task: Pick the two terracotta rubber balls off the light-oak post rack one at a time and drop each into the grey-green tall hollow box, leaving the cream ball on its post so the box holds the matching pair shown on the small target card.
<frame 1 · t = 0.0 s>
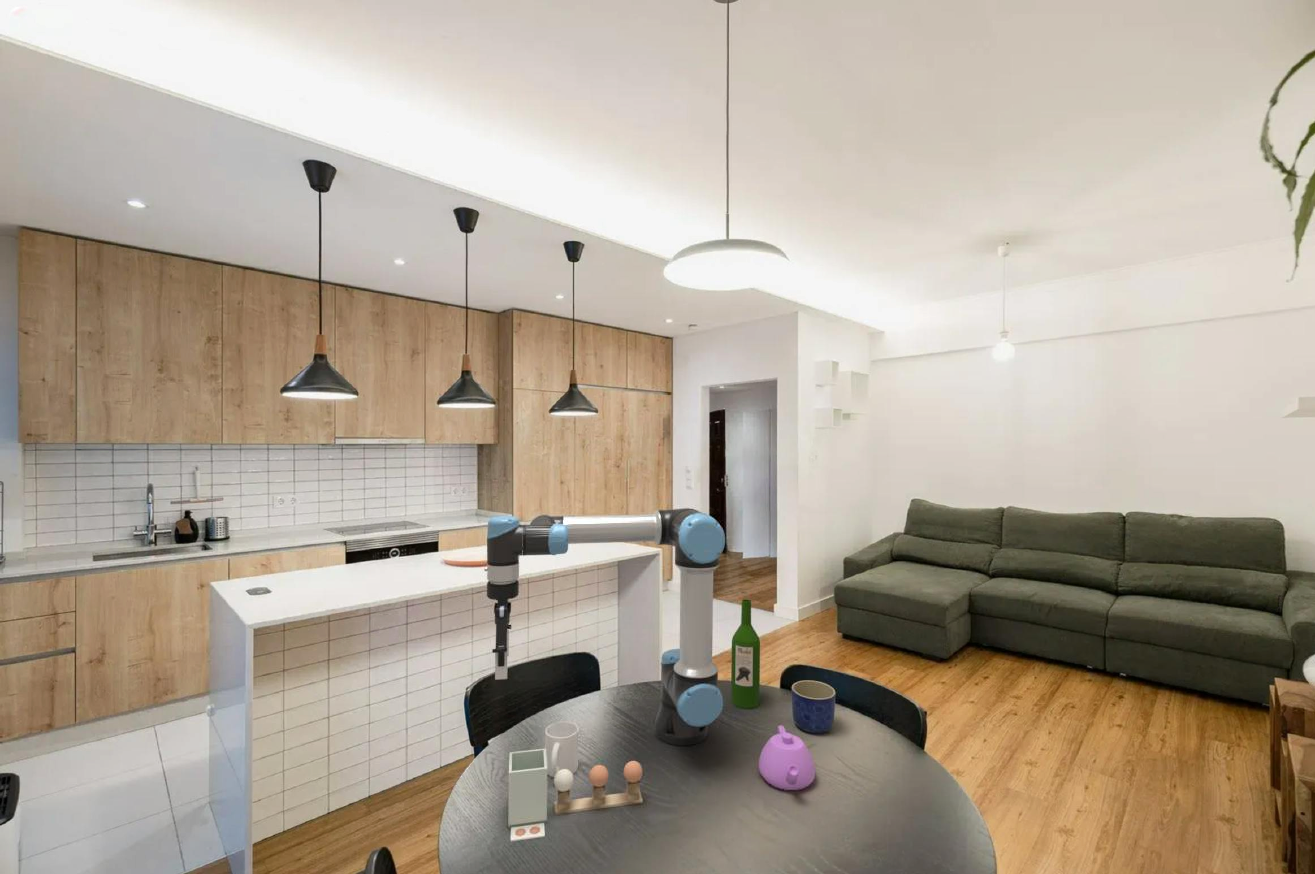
hand: (502, 667, 142), 28 cm above the table, fingers open, 13 cm apart
ball b: (598, 785, 134), point 4 cm above the table, touching rack
ball a: (632, 780, 136), point 4 cm above the table, touching rack
target card: (527, 832, 124), on the table
planter: (812, 726, 170), on the table
wine bottle: (745, 702, 185), on the table
mug: (559, 774, 146), on the table
teapot: (787, 779, 145), on the table
grey-green tall hollow box: (527, 813, 131), on the table
ball c: (563, 789, 132), point 4 cm above the table, touching rack
rack: (598, 803, 134), on the table
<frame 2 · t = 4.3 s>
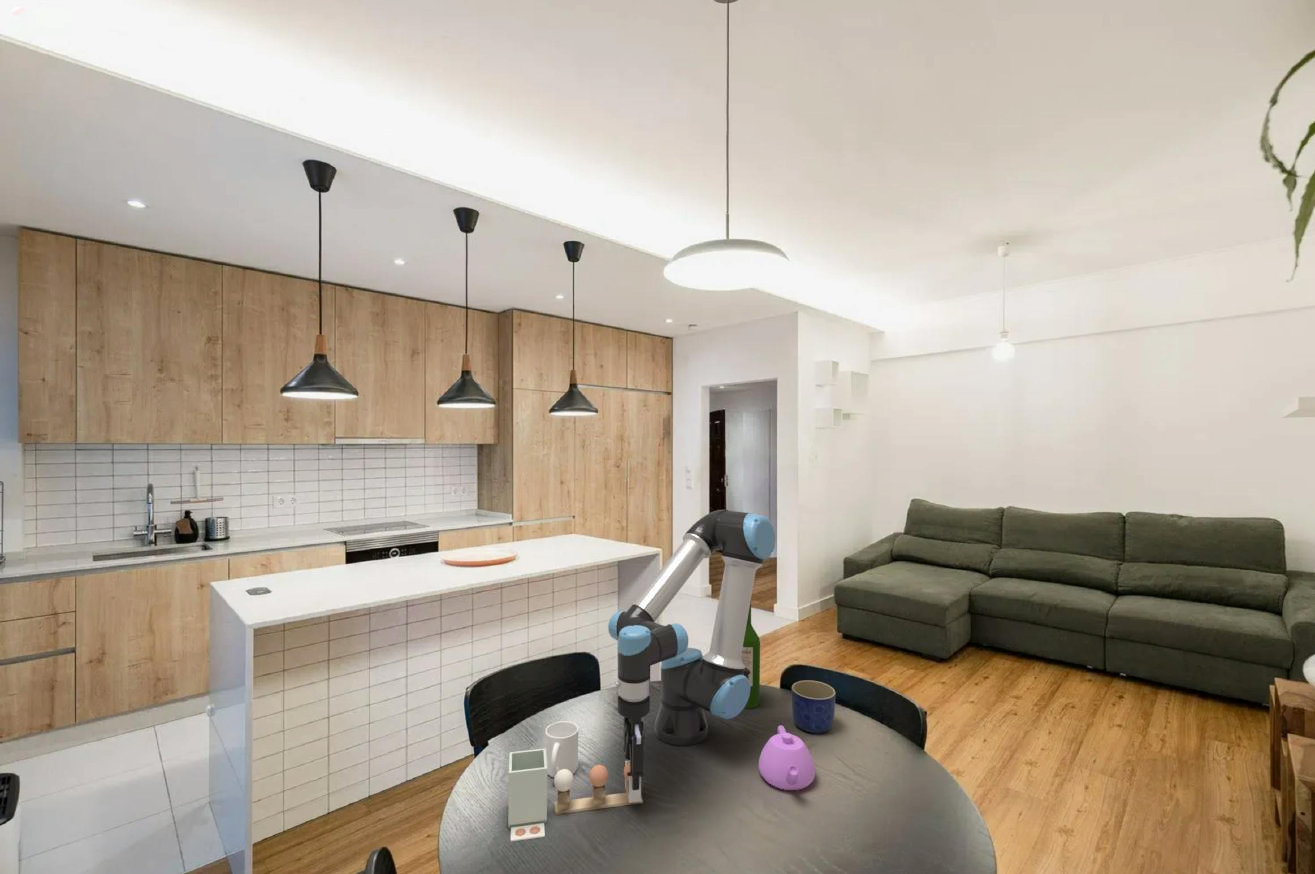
hand: (632, 794, 136), 1 cm above the table, fingers closed on ball a, 4 cm apart
ball a: (632, 780, 136), point 4 cm above the table, touching gripper, rack
everything else where it was.
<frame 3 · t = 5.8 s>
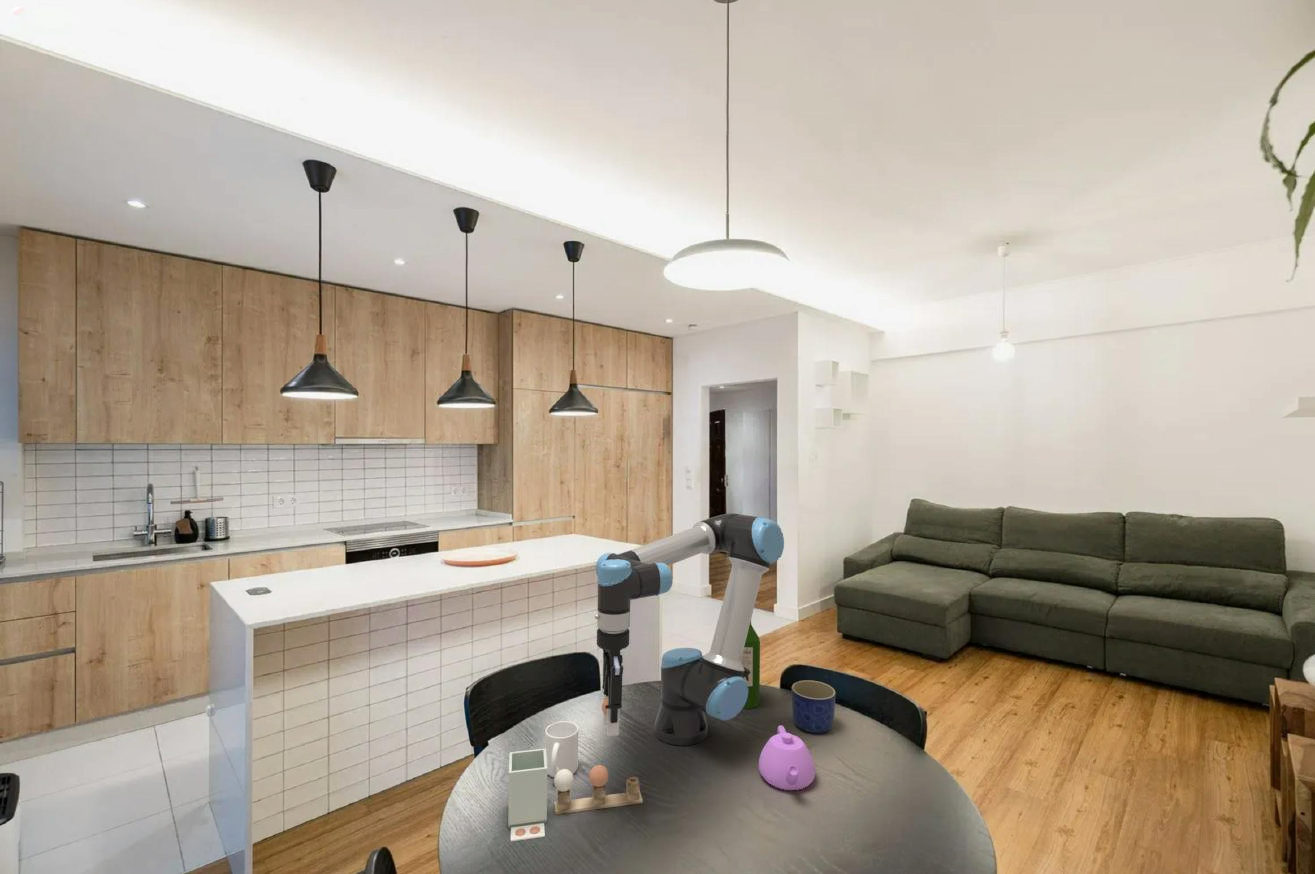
hand: (610, 729, 134), 17 cm above the table, fingers closed on ball a, 4 cm apart
ball a: (611, 715, 134), point 20 cm above the table, touching gripper
everything else where it was.
when the fingers open (14 cm above the table, at t = 7.3 s): ball a drops 16 cm, resting on grey-green tall hollow box.
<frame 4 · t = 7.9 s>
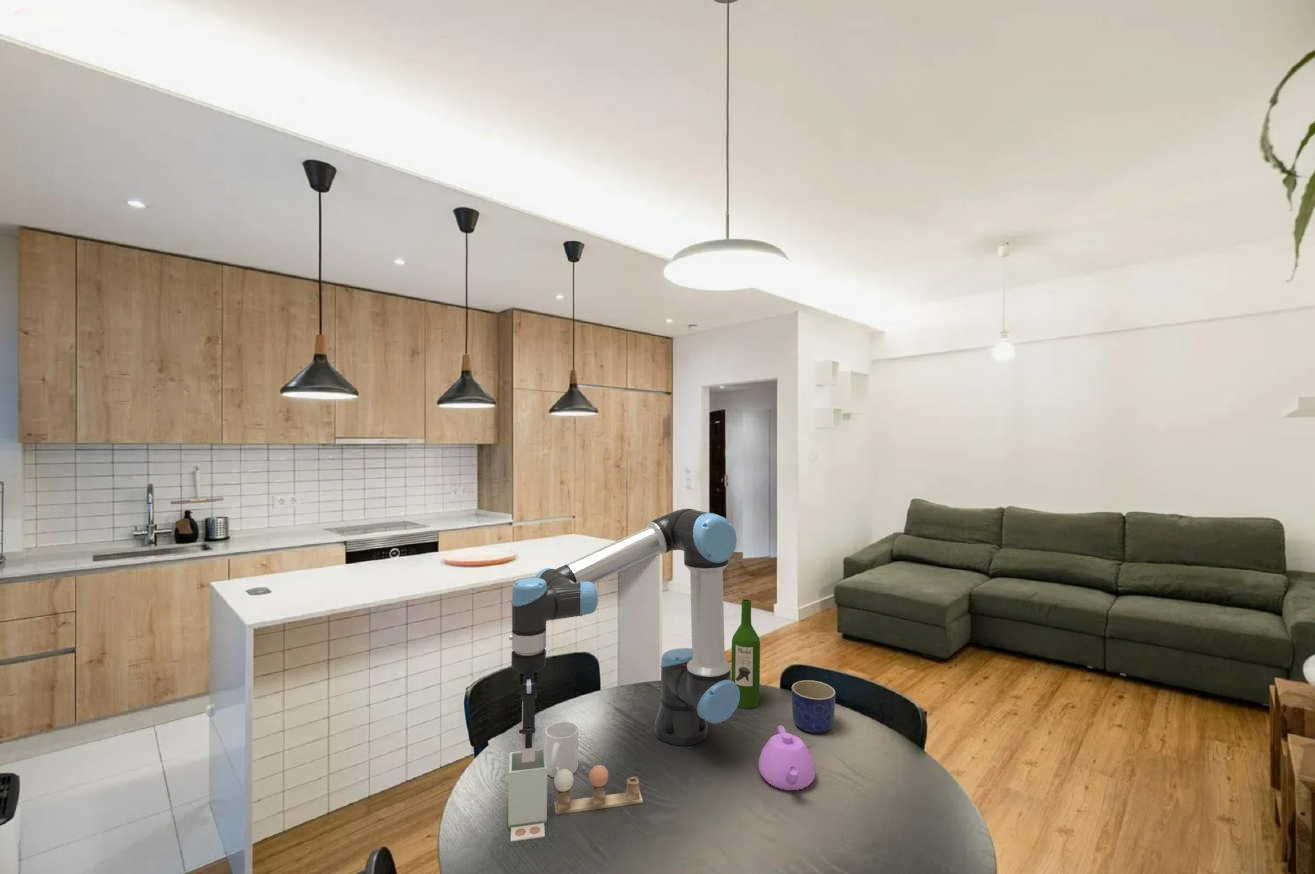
hand: (528, 744, 130), 16 cm above the table, fingers open, 13 cm apart
ball a: (527, 810, 131), point 1 cm above the table, touching grey-green tall hollow box
everything else where it was.
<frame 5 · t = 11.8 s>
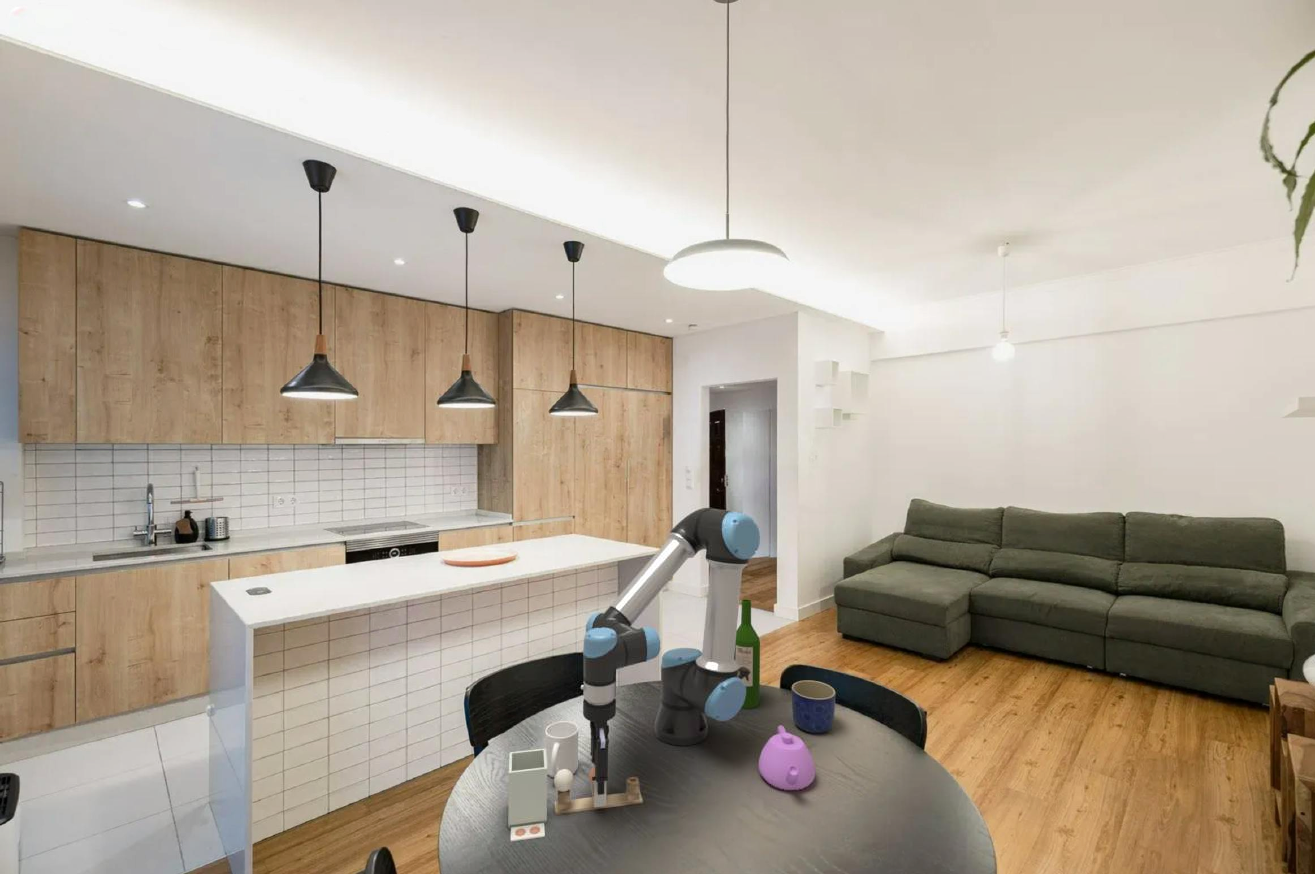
hand: (598, 798, 134), 1 cm above the table, fingers closed on ball b, 4 cm apart
ball b: (598, 785, 134), point 4 cm above the table, touching gripper, rack
everything else where it was.
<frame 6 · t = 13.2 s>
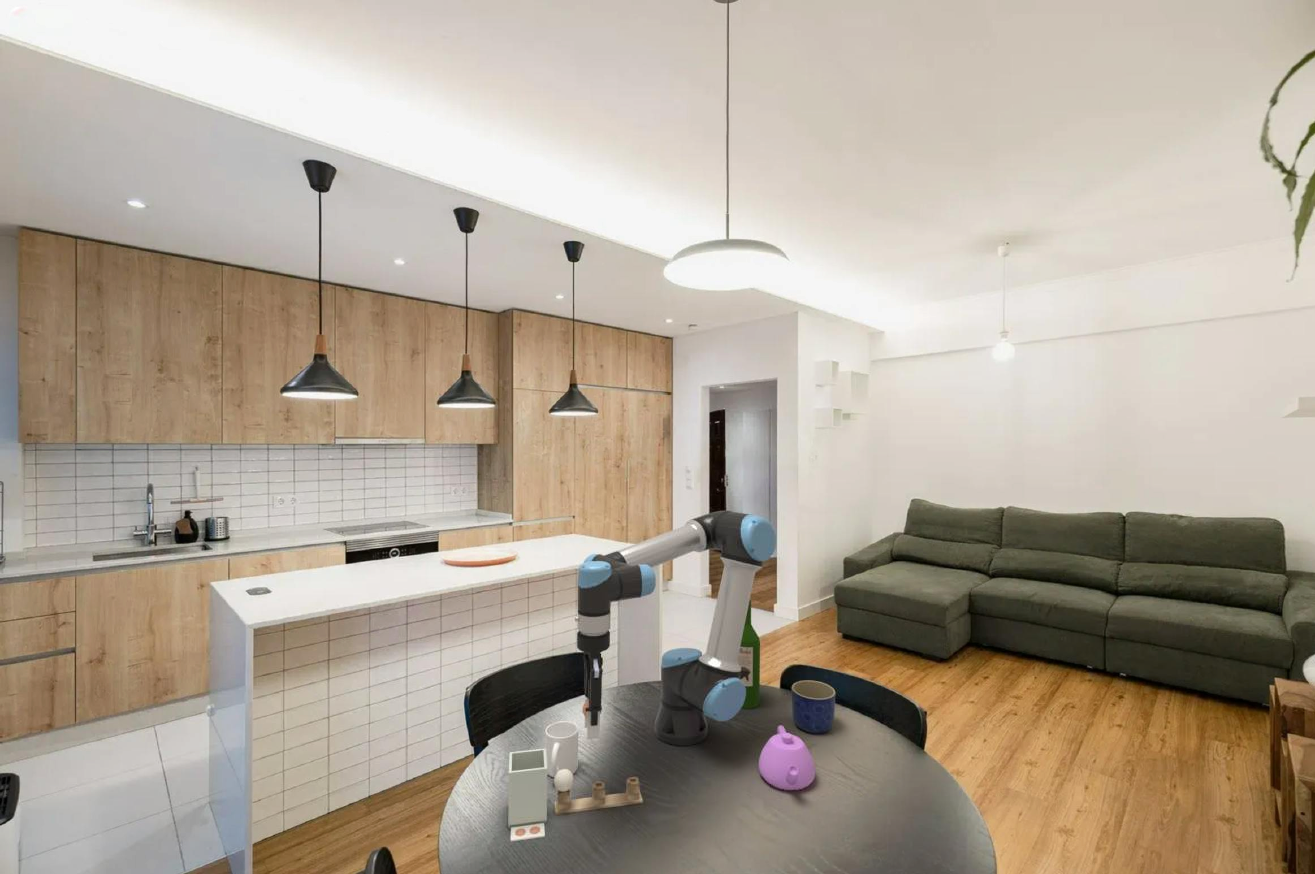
hand: (591, 731, 133), 17 cm above the table, fingers closed on ball b, 4 cm apart
ball b: (592, 718, 133), point 20 cm above the table, touching gripper
everything else where it was.
when the fingers open (14 cm above the table, at t = 14.5 s): ball b drops 10 cm and tips over, resting on ball a, grey-green tall hollow box.
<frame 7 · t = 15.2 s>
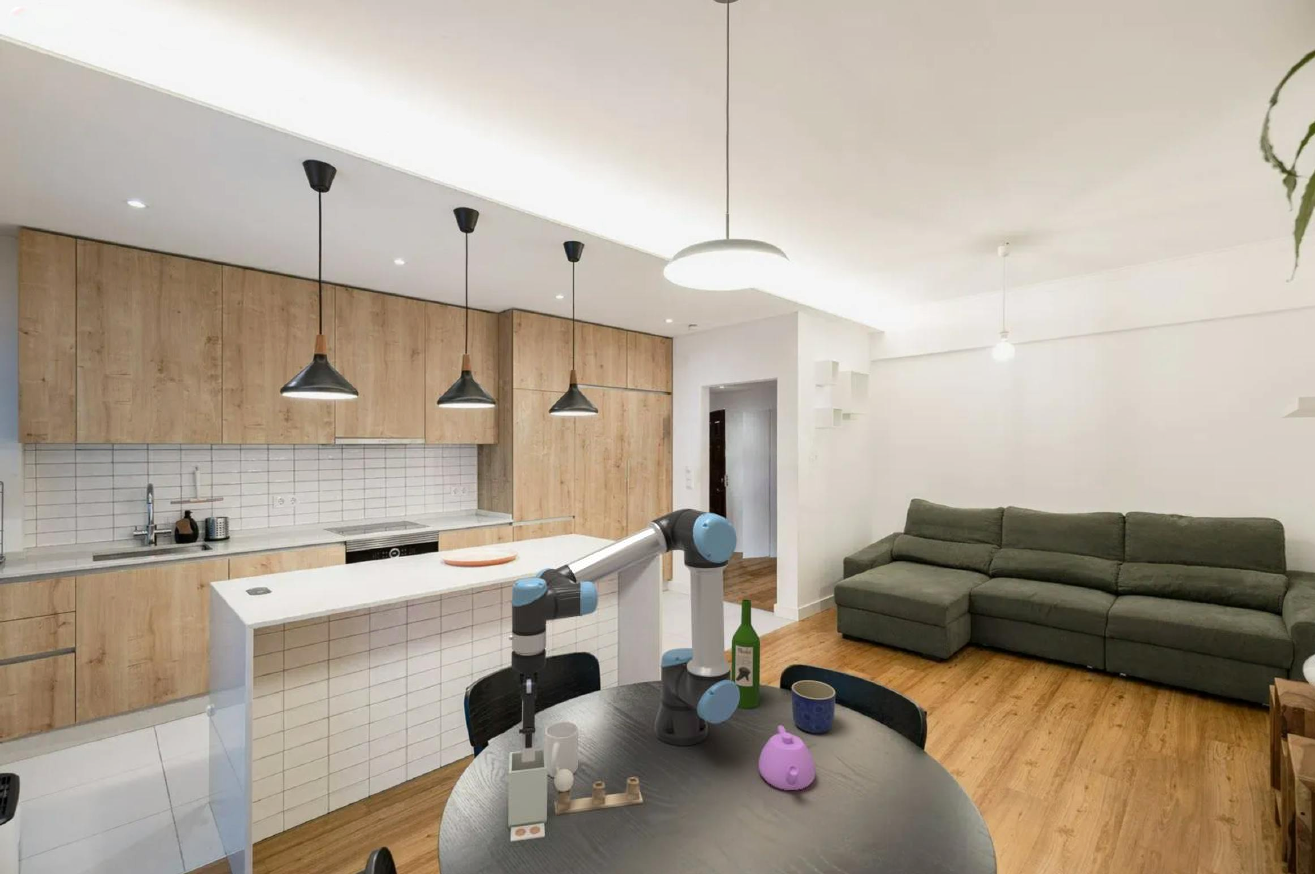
hand: (528, 743, 130), 16 cm above the table, fingers open, 13 cm apart
ball b: (531, 782, 131), point 6 cm above the table, tilted 94°, touching ball a, grey-green tall hollow box
ball a: (527, 809, 131), point 1 cm above the table, tilted 27°, touching ball b, grey-green tall hollow box
everything else where it was.
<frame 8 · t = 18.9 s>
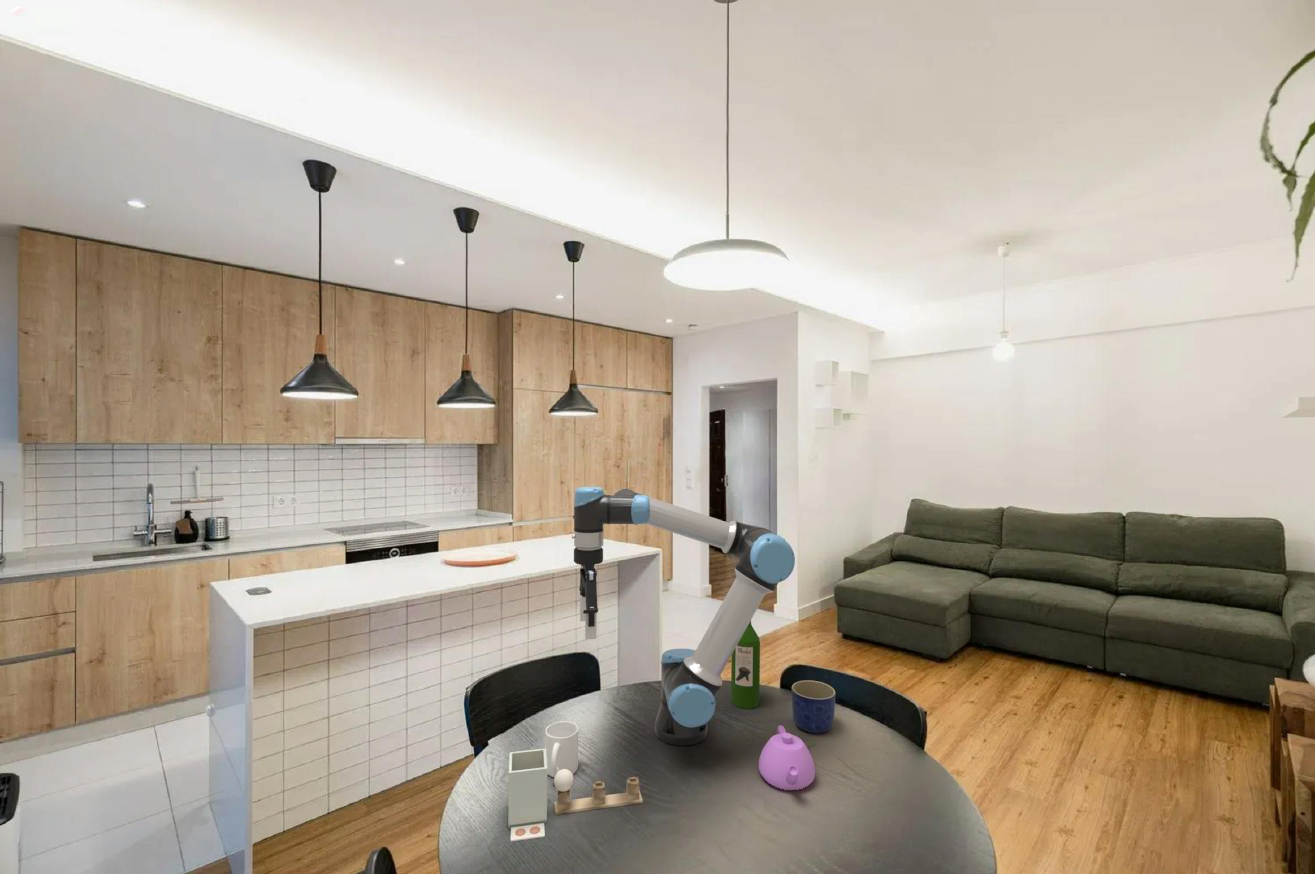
hand: (587, 629, 150), 35 cm above the table, fingers open, 13 cm apart
nothing on the table moved.
at the end: ball a inside the target area on the grey-green tall hollow box (0.1 cm from its centre), point 0.8 cm above the grey-green tall hollow box's base; ball b inside the target area on the grey-green tall hollow box (1.1 cm from its centre), point 6.4 cm above the grey-green tall hollow box's base; ball c moved 0.1 cm from its start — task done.
